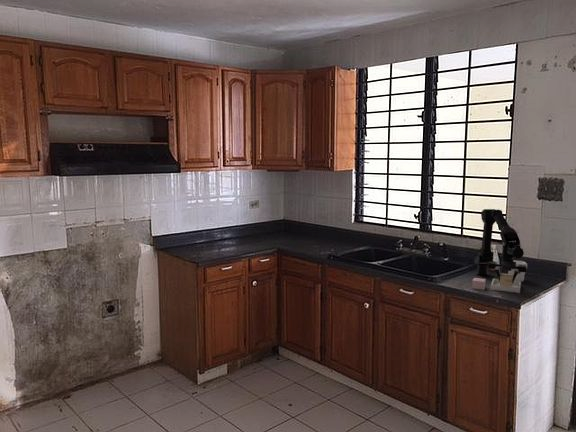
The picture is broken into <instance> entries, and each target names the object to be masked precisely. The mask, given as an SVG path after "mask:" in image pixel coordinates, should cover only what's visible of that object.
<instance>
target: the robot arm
mask: <svg viewBox="0 0 576 432" xmlns="http://www.w3.org/2000/svg"><path fill="white" fill-rule="evenodd" d="M480 216H481V217H480V218H481V221H482V222H483V231H482V239H481V247H480V248H479V250H478V251H477V255H476V257H474V260H473V261H474V264H475V265H477V271H476V276H483V277H485V276H486V277H488V276H489V274H490V272H489V270H493V271H495V273H496V274H497V279H499V282H500V275H501V270H502V271H507V272H508V271H511V270H512V269H515V271H514V275H513V280H512V283H513V282H514V280H515V277H516V276H517V274H518V273H520V272H526V273H527V270H528V265H527V266H526V265H519V266H516V262H513V261H514V260H515V259H521V258H523V257H524V253H525V252H524V251H525V250H524V249H523V248H521V240H520V238H519V234H518V233H517V231H516V230H515V229H514V228H513V227H511V226H510V225H509V223H508V221H507V220H506V218H505V216H504V214H503V210H502V209H495V208H485V209H483V210H481V212H480ZM495 223H496V225H497V227H498V228H499V230H500V233H499V236H500V239H501V243H500V244H501V245H502V252H501V262H500V263H497V262H496V261H494V252H493V250H492V249H491V247H492V237H493V228H494V224H495ZM514 258H515V259H514Z"/></svg>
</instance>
